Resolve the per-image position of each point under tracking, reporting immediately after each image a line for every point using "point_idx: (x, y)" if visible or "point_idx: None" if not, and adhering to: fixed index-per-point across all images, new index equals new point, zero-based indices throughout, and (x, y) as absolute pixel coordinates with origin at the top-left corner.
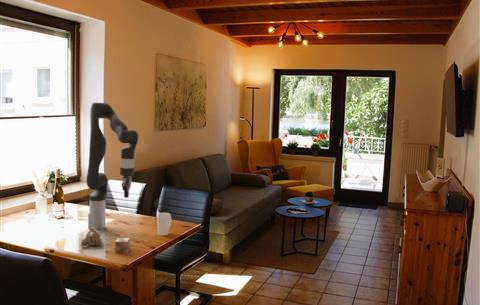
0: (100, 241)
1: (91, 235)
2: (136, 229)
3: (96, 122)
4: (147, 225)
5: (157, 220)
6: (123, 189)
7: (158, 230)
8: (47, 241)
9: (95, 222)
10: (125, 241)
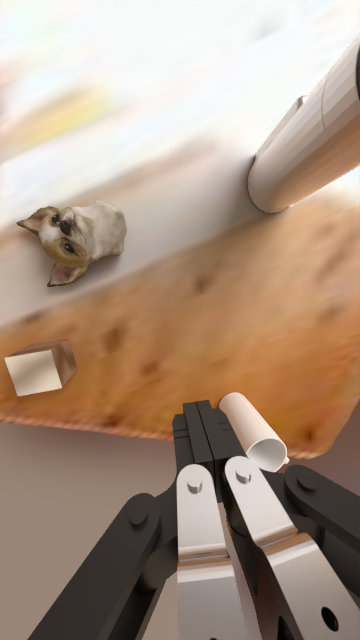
0: (71, 275)
1: (41, 240)
2: (266, 320)
3: None
4: (310, 337)
5: (247, 421)
6: (111, 536)
7: (227, 405)
8: (69, 44)
9: (261, 171)
10: (16, 390)
